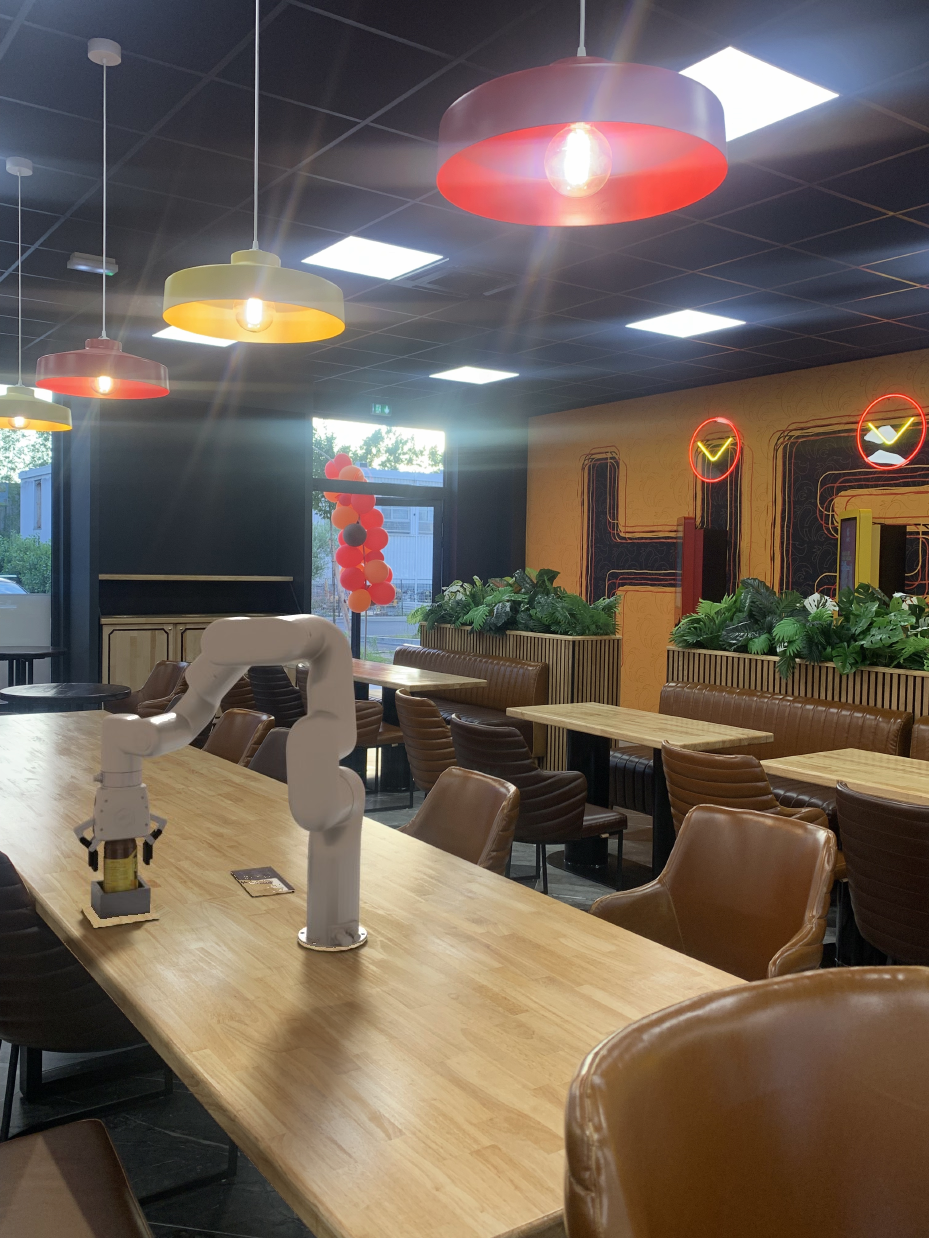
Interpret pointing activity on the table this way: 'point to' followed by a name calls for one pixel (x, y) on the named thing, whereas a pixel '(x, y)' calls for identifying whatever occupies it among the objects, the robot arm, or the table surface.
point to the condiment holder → (120, 900)
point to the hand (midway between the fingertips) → (120, 866)
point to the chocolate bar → (261, 873)
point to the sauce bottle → (120, 865)
